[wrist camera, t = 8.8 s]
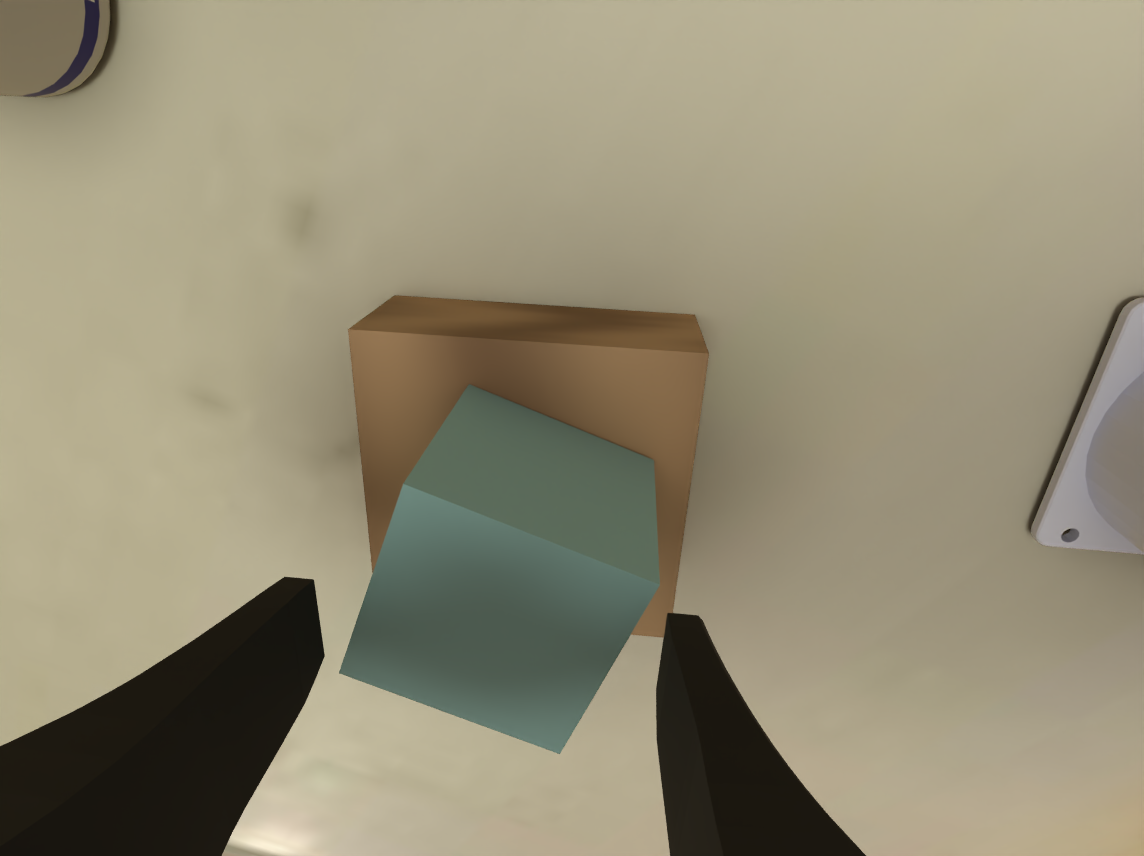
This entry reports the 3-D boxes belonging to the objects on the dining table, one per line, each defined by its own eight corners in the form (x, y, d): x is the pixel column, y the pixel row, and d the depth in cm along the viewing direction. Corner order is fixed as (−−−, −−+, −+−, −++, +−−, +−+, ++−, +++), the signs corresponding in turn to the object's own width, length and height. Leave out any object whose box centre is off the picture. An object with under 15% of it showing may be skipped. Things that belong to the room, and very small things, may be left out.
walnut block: (693, 311, 20) (709, 353, 16) (662, 558, 23) (669, 637, 20) (398, 292, 20) (348, 329, 16) (414, 538, 24) (376, 612, 20)
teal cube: (654, 459, 17) (659, 585, 13) (578, 602, 19) (559, 753, 15) (469, 383, 17) (402, 483, 12) (413, 537, 19) (339, 672, 14)
